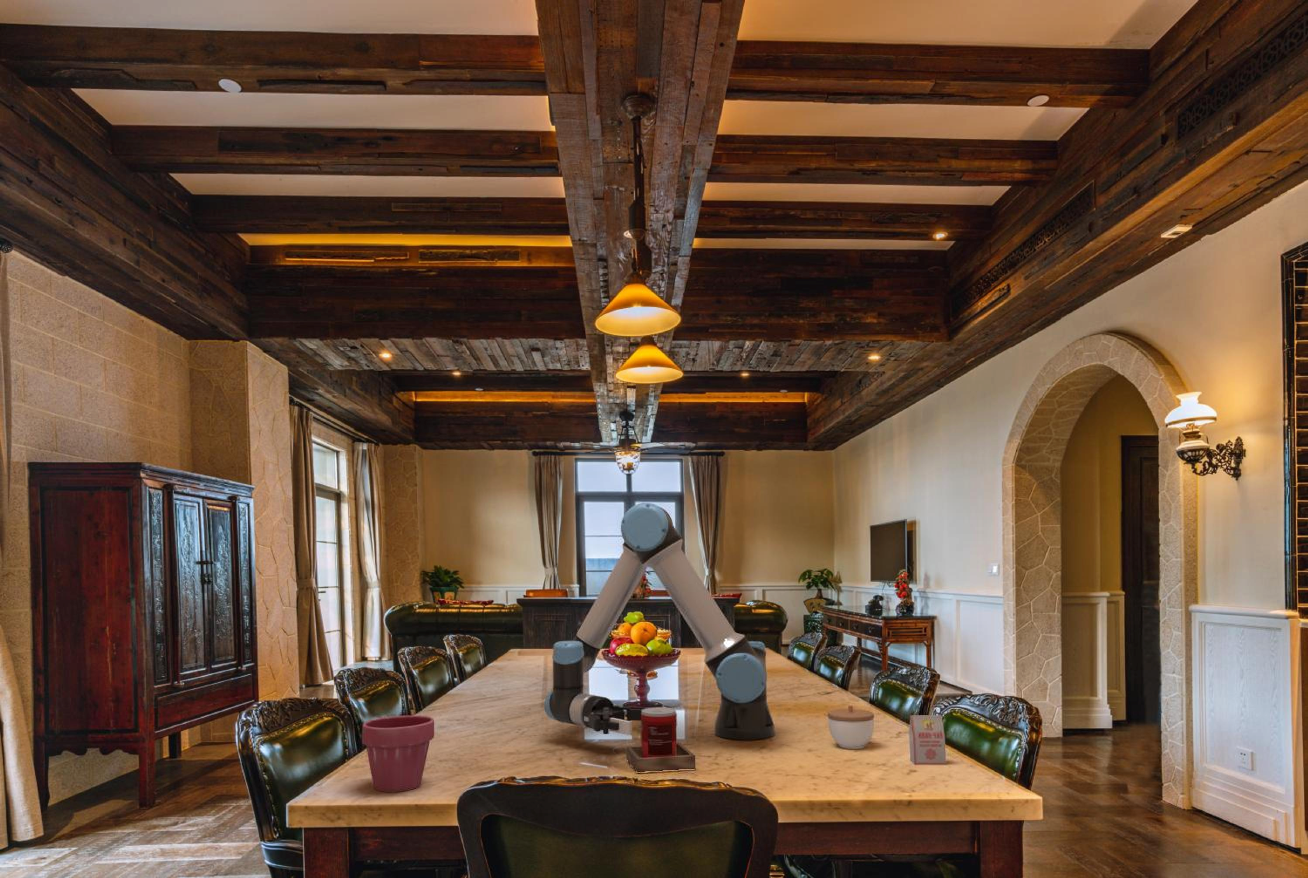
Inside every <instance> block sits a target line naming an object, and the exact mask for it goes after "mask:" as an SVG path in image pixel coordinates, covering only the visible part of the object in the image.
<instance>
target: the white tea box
mask: <svg viewBox="0 0 1308 878" xmlns="http://www.w3.org/2000/svg"><path fill="white" fill-rule="evenodd" d="M908 735H909V739H908V741H909V757H910V758H909V761H910V762H911V764H913V765H915V766H917V765H919V766H920V765H921V766H923V765H926V766H929V765H930V766H931V765H933V766H936V765H937V766H944V765H947V758H946V757H947V756H946V752H947V751H946V735H945V729H944V724H943V716H942V715H939V714H938V715H936V714H935V715H934V714H929V715H927V714H926V715H925V714H924V715H923V714H922V715H919V714H917V715H916V714H913V715H909V731H908Z"/></svg>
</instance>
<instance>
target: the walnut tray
mask: <svg viewBox="0 0 1308 878" xmlns="http://www.w3.org/2000/svg"><path fill="white" fill-rule="evenodd" d="M676 743H677V742H676ZM625 748H626V749H625V754H626V755H625V757H626V758H625V760H626V759H627V760H628V762H629V763H630V764H631V765H632V766H633V768H634V769H635V770H636V771H637V772H645V771H663V770H679V769H695V770H696V755H695V754H694V753H693V752H692V751H691V750H689V749H688V748H687V747H686V746H684V745H683V744H682V743H680V742H679V743H677V756H668V757H652V758H642V746H641V745H631V746H630V745H629V746H625ZM628 762H627V763H628ZM629 763H628V764H629ZM630 764H629V765H630ZM633 768H632V769H633ZM634 769H633V770H634Z"/></svg>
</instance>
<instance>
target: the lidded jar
mask: <svg viewBox="0 0 1308 878" xmlns="http://www.w3.org/2000/svg"><path fill="white" fill-rule="evenodd" d="M853 707H854V706H853V705H852V704H851V705H850V704H849V705H848V706H847V708H837V709H831V710H829V711H828V712H827V718H828V719H827V720H828V729H829V732H830V735H831V737H832V739H833V740H834V742H836V744H837V745H838V747H839V748H841V749H846V750H861V749H862V750H863V749H864V748H866V746H867V744H868V743H870V741H871V740H872V737H873V733H874V725H875V722H874V719H875V714H874V712H873V711H869V710H866V709H860V708H853Z"/></svg>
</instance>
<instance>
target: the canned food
mask: <svg viewBox="0 0 1308 878" xmlns="http://www.w3.org/2000/svg"><path fill="white" fill-rule="evenodd" d="M676 713H677V710H676V709H674V708H672V707H671V708H670V707H663V706H661V707H657V706H656V707H652V708H646V709H643V710H642V711H641V721H640V725H641V726H640V728H641V729H640V731H641V732H640V733H641V734H640V736H641V741H640V742H641V745H640V746H642V758H652V757H668V756H677V726H676Z"/></svg>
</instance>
